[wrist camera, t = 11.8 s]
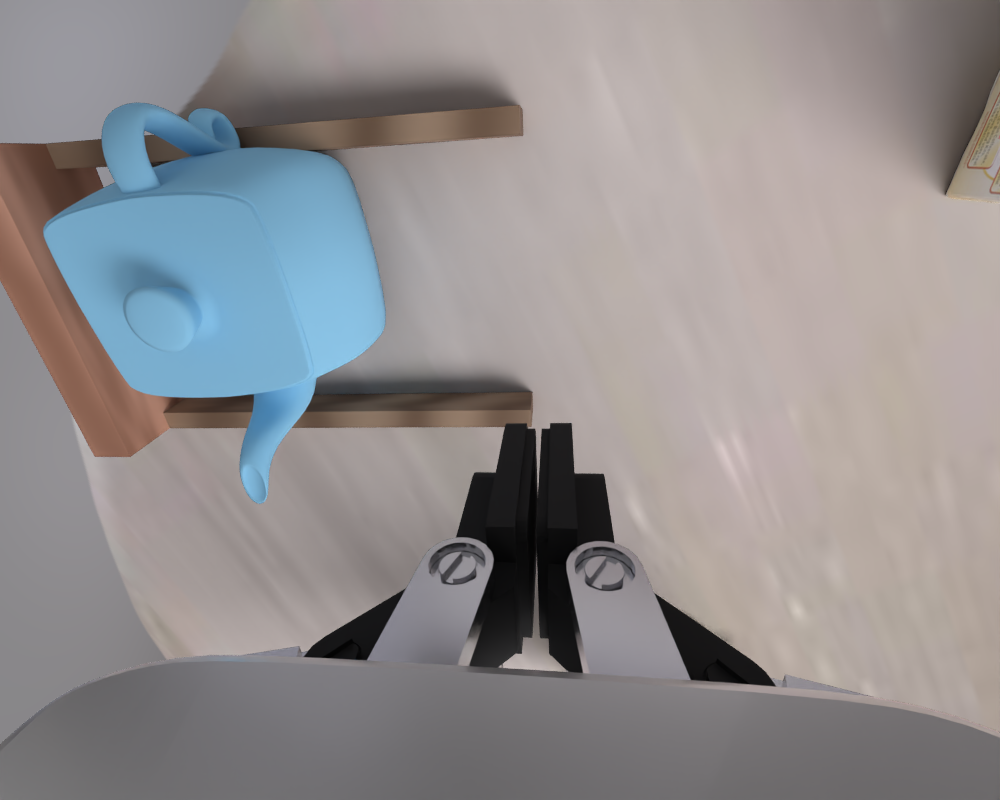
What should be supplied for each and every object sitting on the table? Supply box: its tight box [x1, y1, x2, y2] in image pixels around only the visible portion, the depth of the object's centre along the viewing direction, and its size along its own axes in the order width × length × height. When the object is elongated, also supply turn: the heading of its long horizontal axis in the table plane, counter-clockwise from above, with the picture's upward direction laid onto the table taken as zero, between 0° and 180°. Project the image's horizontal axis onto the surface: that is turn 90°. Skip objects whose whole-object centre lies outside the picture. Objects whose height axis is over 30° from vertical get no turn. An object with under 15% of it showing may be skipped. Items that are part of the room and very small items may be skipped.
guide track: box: [0, 105, 533, 457], centre depth 28 cm, size 28×17×6 cm, turn 94°
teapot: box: [43, 103, 386, 504], centre depth 25 cm, size 12×18×12 cm
